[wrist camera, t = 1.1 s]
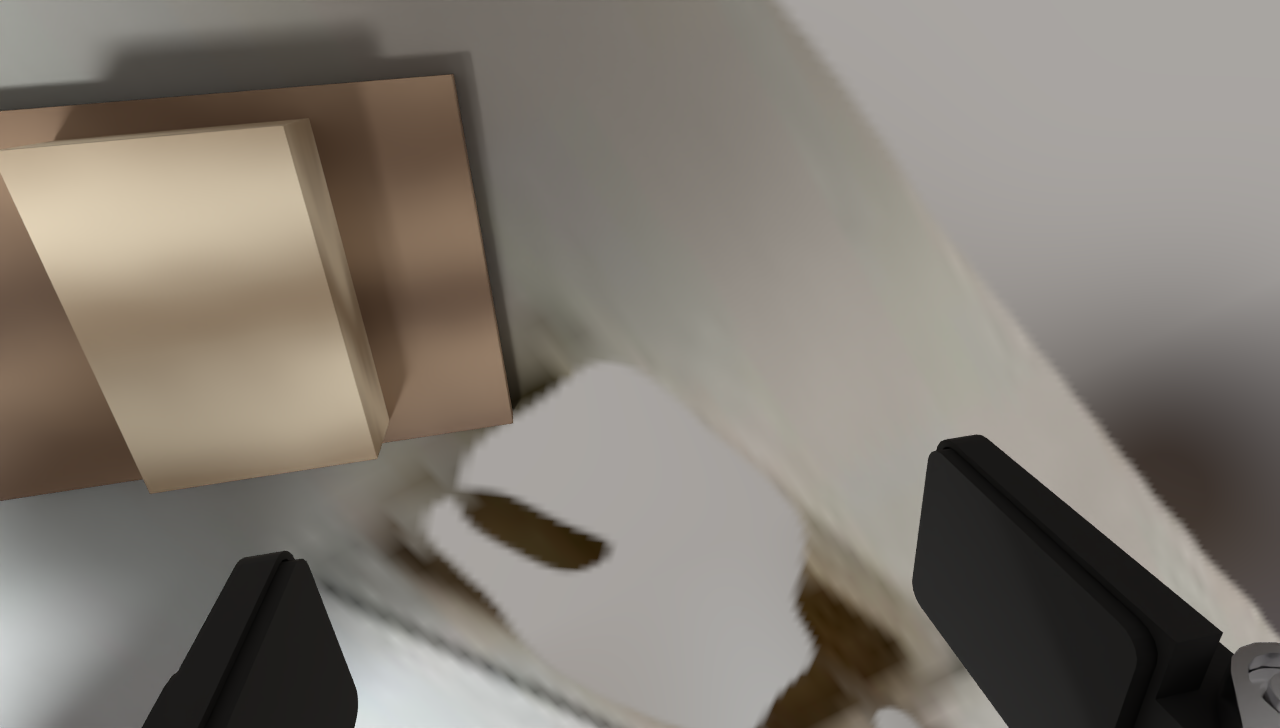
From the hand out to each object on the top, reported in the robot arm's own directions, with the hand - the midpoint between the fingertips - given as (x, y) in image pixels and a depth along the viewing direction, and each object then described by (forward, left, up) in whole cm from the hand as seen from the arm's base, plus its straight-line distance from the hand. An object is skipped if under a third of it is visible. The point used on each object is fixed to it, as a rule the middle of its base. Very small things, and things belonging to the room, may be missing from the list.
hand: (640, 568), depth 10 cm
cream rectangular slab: (0, +12, -18) cm, 22 cm away
